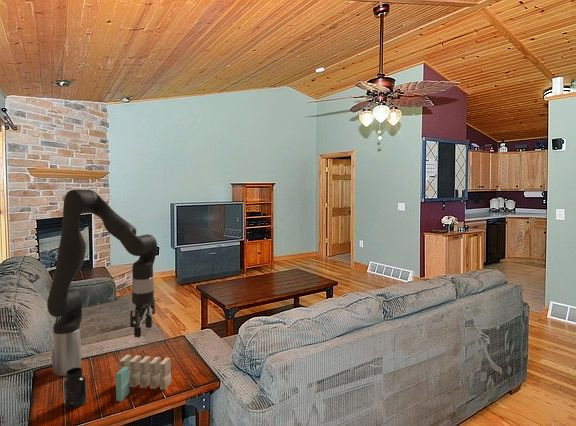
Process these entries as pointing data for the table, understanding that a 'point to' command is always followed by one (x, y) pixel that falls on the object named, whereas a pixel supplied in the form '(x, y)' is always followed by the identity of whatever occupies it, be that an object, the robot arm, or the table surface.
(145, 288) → the robot arm
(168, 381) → the domino
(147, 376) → the domino
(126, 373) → the domino
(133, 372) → the domino
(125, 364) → the domino
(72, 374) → the supplement bottle
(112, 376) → the table surface
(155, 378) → the domino
